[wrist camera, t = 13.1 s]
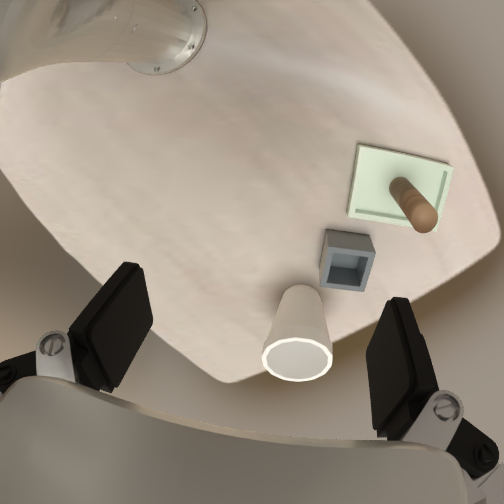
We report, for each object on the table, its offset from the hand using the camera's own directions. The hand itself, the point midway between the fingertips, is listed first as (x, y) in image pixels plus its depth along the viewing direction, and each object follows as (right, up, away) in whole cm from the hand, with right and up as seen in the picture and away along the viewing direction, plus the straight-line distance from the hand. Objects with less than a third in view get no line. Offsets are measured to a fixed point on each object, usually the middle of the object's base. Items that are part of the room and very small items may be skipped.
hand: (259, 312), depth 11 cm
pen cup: (+13, +2, +32) cm, 35 cm away
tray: (+20, +11, +25) cm, 34 cm away
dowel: (+19, +11, +25) cm, 33 cm away
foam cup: (+8, -5, +38) cm, 39 cm away
